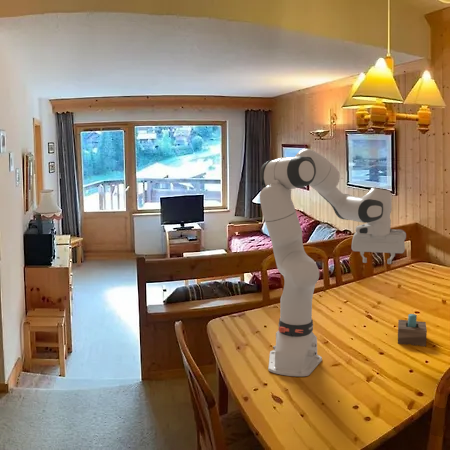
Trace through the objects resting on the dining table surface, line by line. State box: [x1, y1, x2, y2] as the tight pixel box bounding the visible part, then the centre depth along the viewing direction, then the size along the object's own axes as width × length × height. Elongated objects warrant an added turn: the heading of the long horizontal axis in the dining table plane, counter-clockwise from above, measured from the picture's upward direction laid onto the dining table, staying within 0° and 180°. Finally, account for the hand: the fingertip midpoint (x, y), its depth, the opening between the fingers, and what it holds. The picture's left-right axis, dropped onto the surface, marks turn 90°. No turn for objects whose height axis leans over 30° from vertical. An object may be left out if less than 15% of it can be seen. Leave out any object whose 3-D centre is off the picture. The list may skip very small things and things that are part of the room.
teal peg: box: [407, 313, 418, 328], centre depth 204 cm, size 3×3×10 cm
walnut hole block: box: [397, 319, 428, 347], centre depth 204 cm, size 10×10×6 cm
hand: (376, 263), depth 211 cm, fingers open, 8 cm apart
